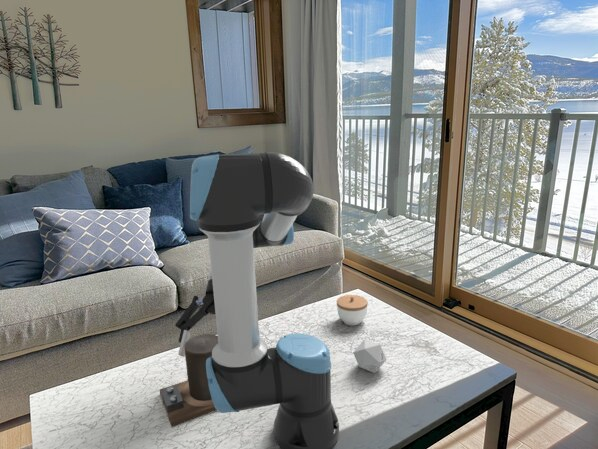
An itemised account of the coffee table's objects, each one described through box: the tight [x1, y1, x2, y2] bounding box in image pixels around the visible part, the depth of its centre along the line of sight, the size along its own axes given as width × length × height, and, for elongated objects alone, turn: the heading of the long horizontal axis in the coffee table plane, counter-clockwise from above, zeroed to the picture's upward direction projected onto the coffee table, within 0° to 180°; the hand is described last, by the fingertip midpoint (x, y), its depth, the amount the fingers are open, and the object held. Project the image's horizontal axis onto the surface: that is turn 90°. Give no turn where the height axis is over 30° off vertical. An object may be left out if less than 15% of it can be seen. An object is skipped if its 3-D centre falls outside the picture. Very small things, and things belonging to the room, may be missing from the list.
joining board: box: [159, 379, 217, 428], centre depth 109 cm, size 14×22×2 cm, turn 119°
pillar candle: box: [184, 333, 218, 401], centre depth 107 cm, size 10×10×15 cm
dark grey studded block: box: [161, 385, 184, 413], centre depth 109 cm, size 7×22×3 cm, turn 119°
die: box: [353, 339, 387, 374], centre depth 118 cm, size 8×9×10 cm
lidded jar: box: [336, 294, 369, 326], centre depth 144 cm, size 11×11×9 cm
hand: (205, 357), depth 108 cm, fingers open, 13 cm apart
